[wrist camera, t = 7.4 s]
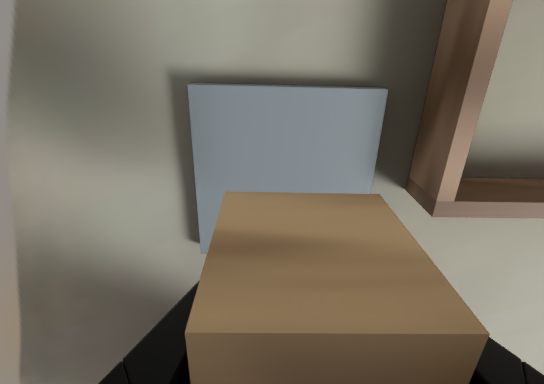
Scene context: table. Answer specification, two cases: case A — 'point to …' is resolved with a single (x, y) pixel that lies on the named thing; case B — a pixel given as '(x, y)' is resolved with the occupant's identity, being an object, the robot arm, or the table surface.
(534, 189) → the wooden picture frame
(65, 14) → the table surface
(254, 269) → the beech block
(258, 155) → the slate pad
